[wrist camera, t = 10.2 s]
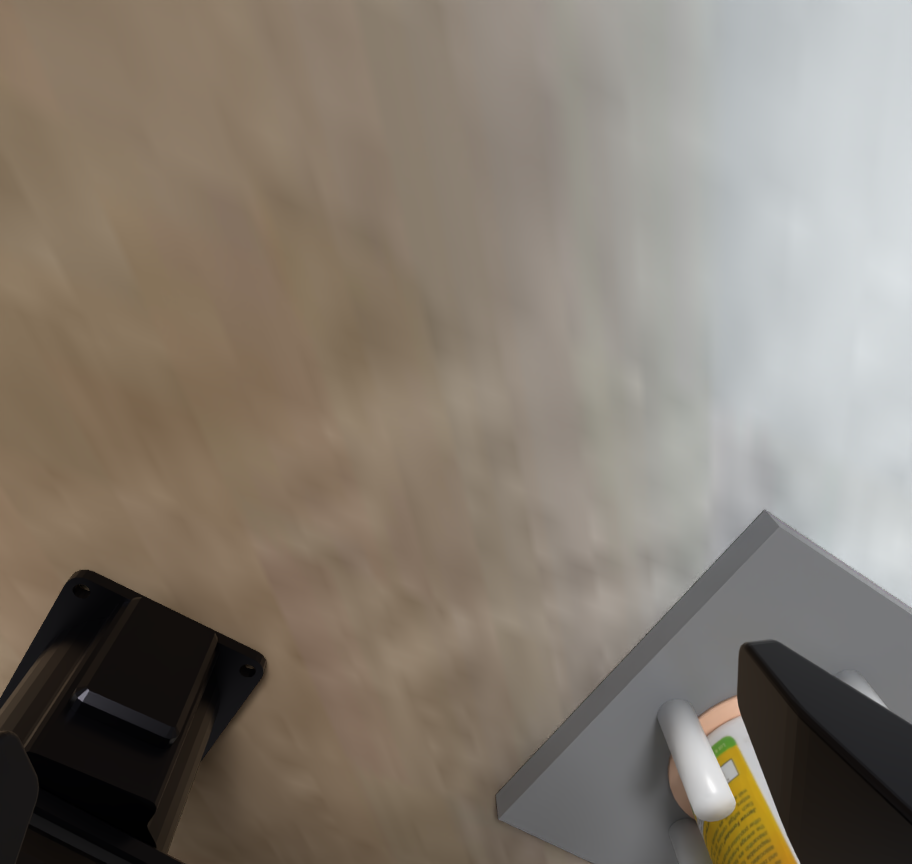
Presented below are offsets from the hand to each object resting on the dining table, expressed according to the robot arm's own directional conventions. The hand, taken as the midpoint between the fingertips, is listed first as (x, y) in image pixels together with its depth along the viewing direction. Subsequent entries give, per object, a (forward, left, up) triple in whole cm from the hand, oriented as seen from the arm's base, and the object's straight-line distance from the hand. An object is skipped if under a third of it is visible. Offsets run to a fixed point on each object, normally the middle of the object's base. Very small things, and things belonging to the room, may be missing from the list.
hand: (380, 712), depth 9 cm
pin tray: (-4, -17, -12) cm, 21 cm away
